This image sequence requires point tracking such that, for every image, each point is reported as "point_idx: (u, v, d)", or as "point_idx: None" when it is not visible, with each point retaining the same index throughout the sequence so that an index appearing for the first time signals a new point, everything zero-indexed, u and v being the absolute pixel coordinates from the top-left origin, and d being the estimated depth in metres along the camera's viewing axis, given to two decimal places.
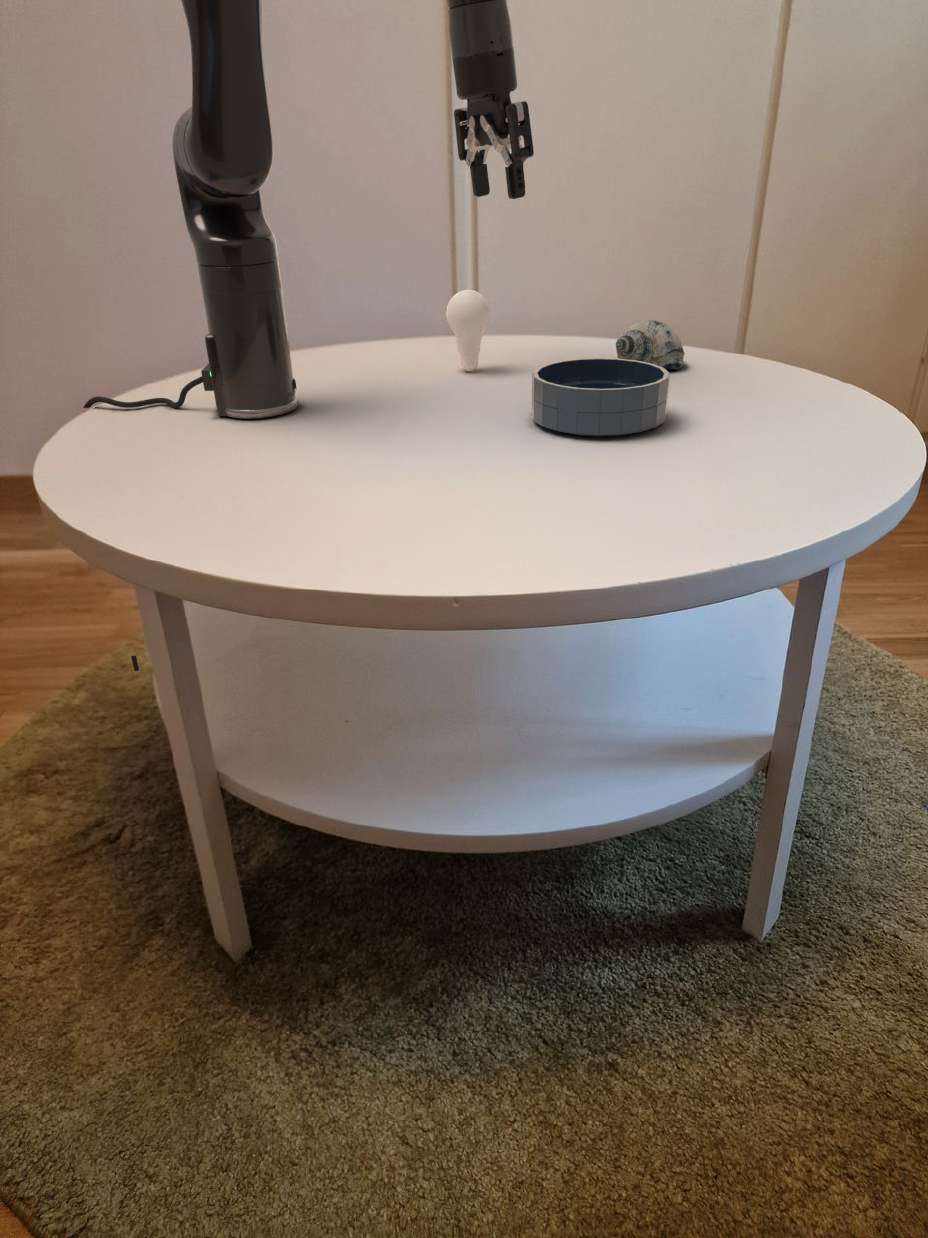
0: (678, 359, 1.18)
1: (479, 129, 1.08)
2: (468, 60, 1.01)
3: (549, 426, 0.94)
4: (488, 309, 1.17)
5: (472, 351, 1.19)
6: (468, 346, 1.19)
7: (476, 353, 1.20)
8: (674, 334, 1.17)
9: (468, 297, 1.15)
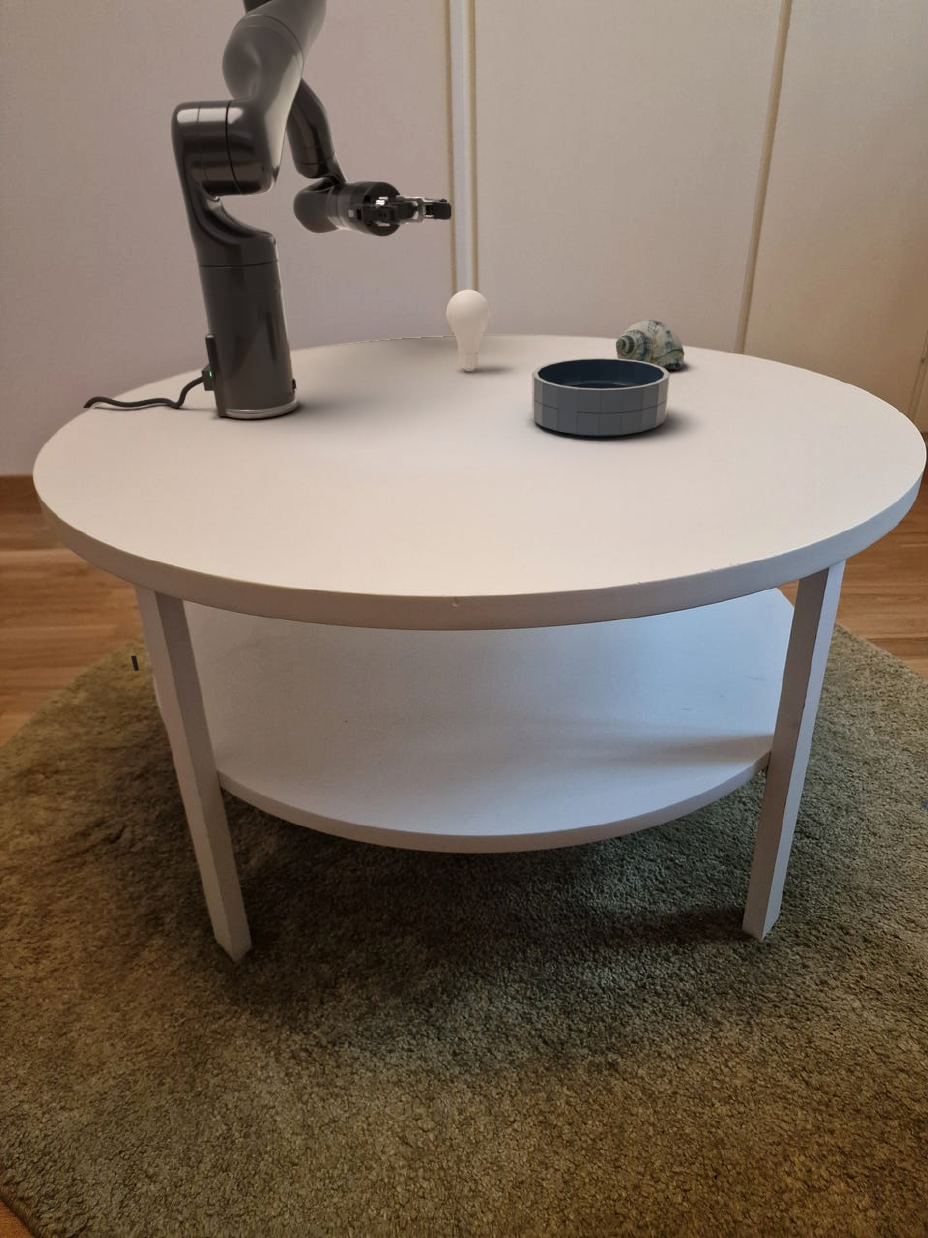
0: (678, 359, 1.18)
1: (389, 202, 1.25)
2: None
3: (549, 426, 0.94)
4: (488, 309, 1.17)
5: (472, 351, 1.19)
6: (468, 346, 1.19)
7: (476, 353, 1.20)
8: (674, 334, 1.17)
9: (468, 297, 1.15)
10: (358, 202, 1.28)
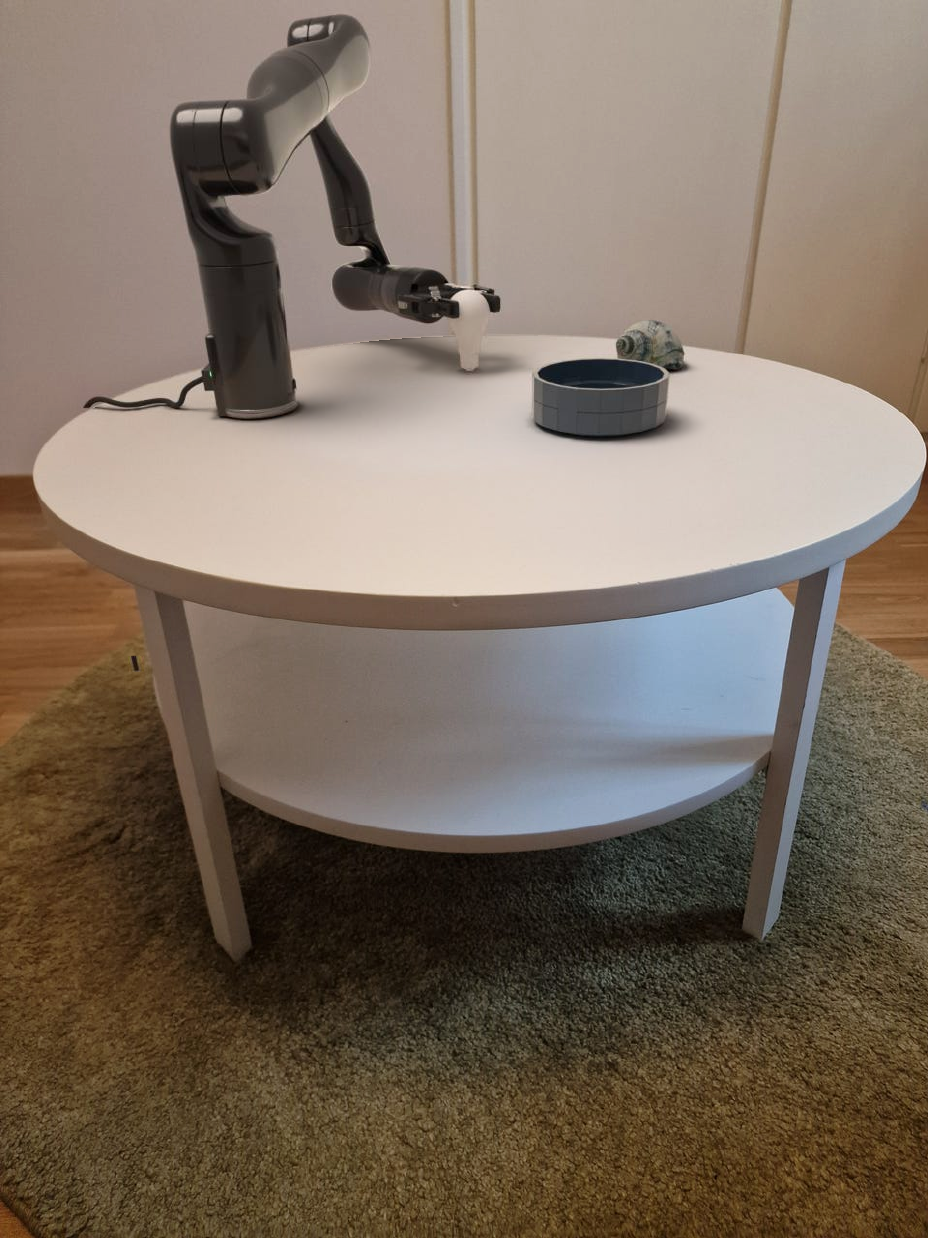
0: (678, 359, 1.18)
1: None
2: None
3: (549, 426, 0.94)
4: (488, 309, 1.17)
5: (472, 351, 1.19)
6: (468, 346, 1.19)
7: (476, 353, 1.20)
8: (674, 334, 1.17)
9: (468, 297, 1.15)
10: (405, 290, 1.24)
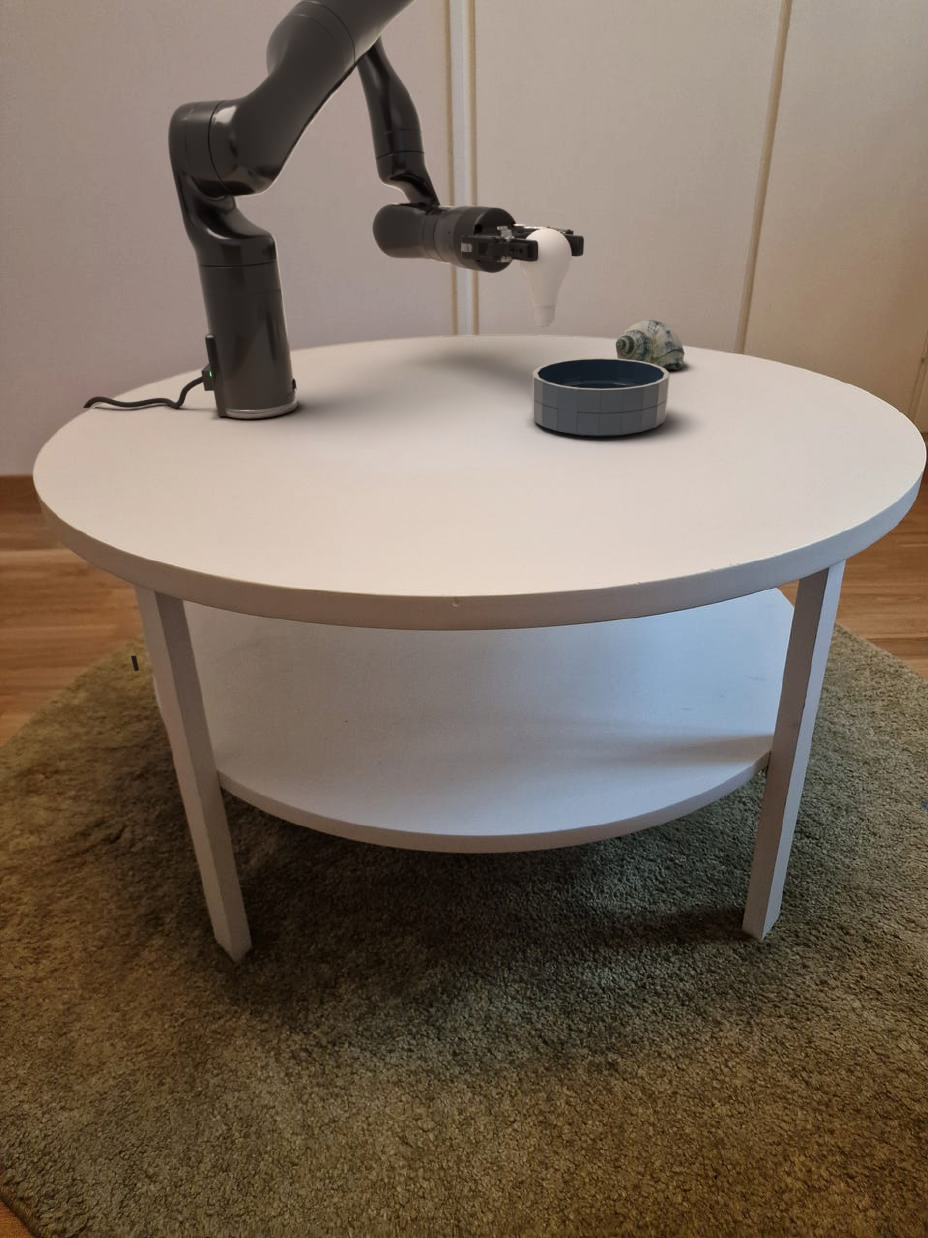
0: (678, 359, 1.18)
1: None
2: None
3: (549, 426, 0.94)
4: (570, 252, 0.99)
5: (549, 303, 1.01)
6: (545, 296, 1.00)
7: (553, 305, 1.01)
8: (674, 334, 1.17)
9: (548, 236, 0.97)
10: (467, 232, 1.05)
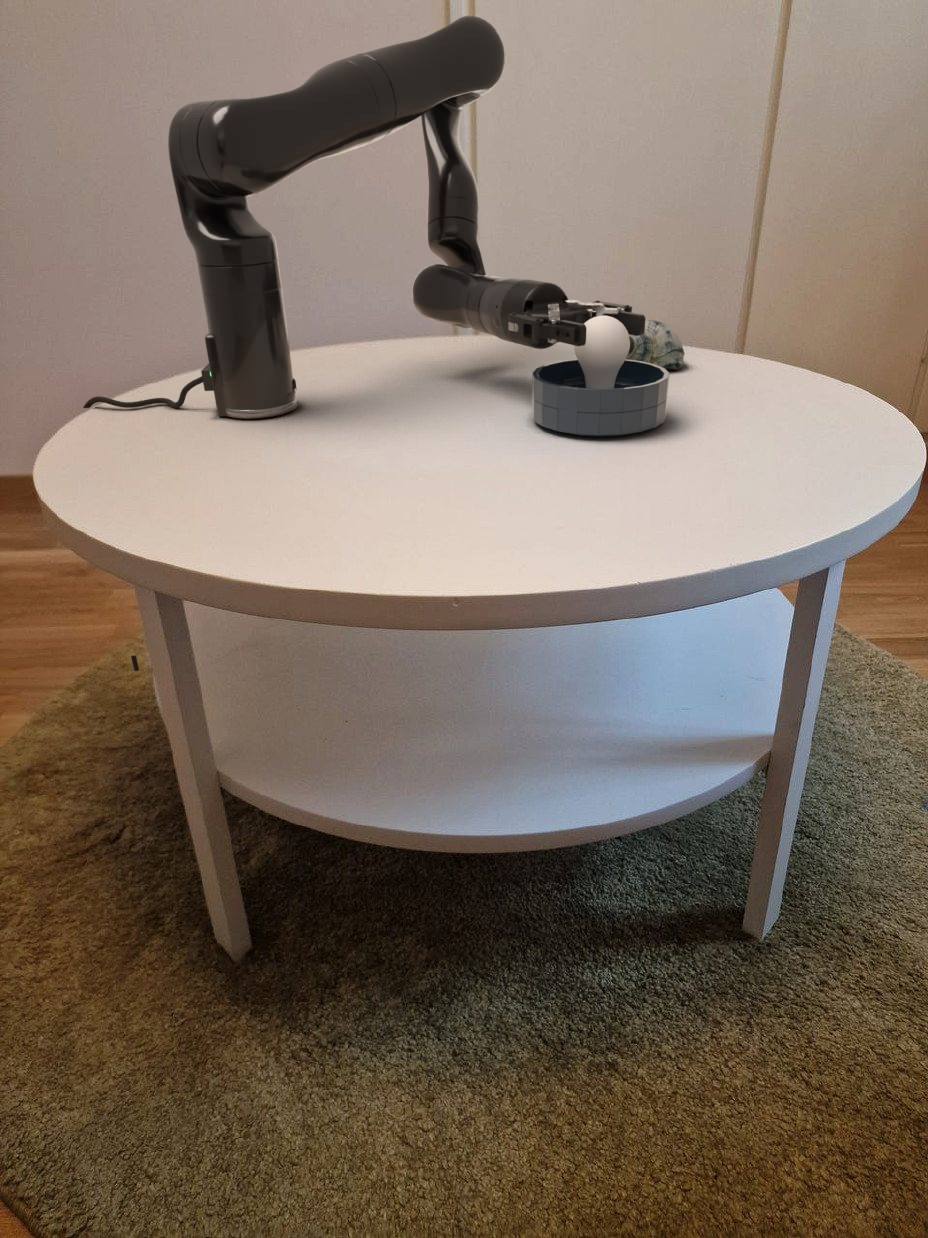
0: (678, 359, 1.18)
1: (560, 312, 0.97)
2: None
3: (549, 426, 0.94)
4: (629, 340, 0.94)
5: None
6: (601, 386, 0.95)
7: None
8: (674, 334, 1.17)
9: (606, 325, 0.92)
10: (516, 309, 0.99)
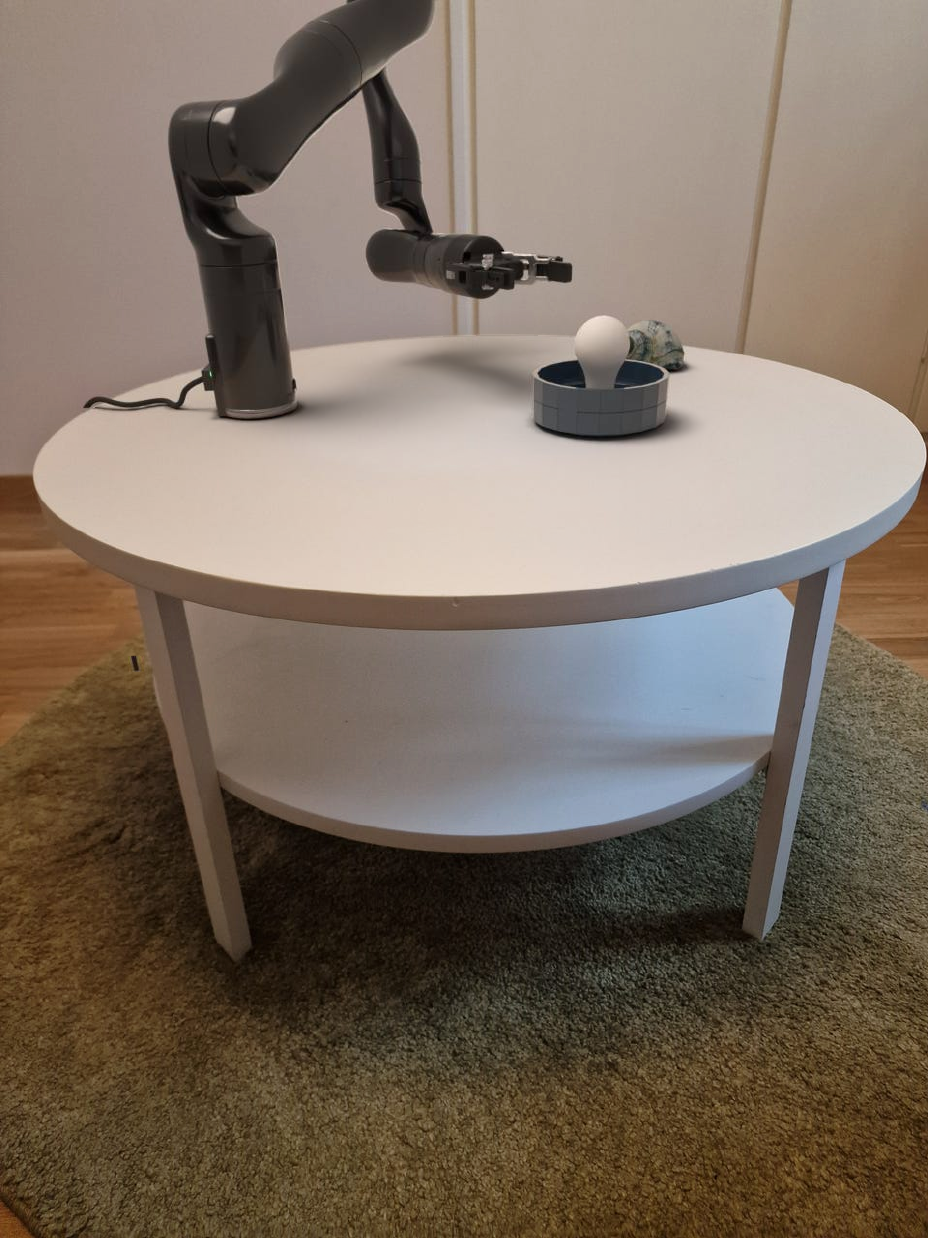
0: (678, 359, 1.18)
1: (494, 261, 1.04)
2: None
3: (549, 426, 0.94)
4: (629, 340, 0.94)
5: None
6: (601, 386, 0.95)
7: None
8: (674, 334, 1.17)
9: (606, 325, 0.92)
10: (455, 260, 1.07)
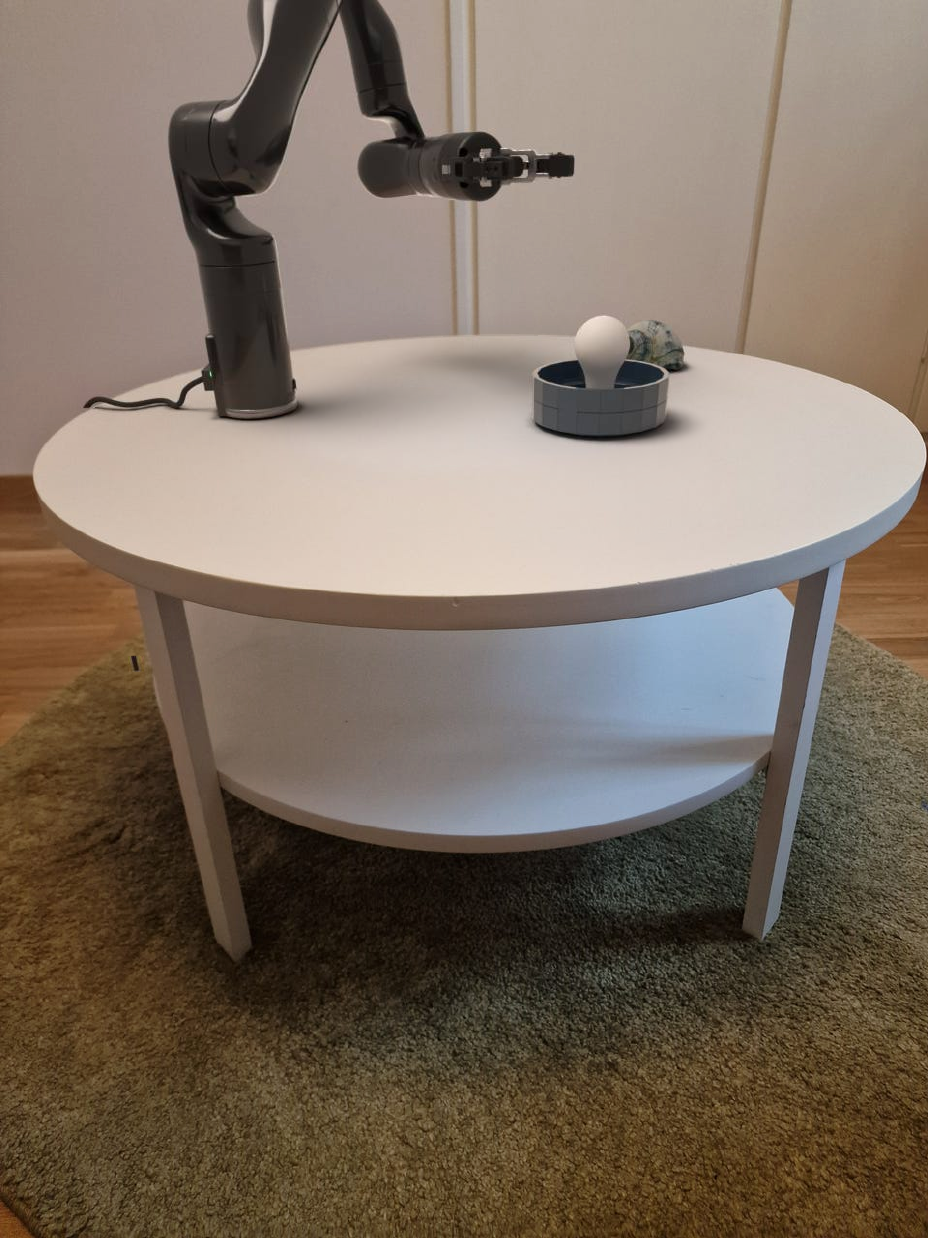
0: (678, 359, 1.18)
1: (492, 156, 0.99)
2: None
3: (549, 426, 0.94)
4: (629, 340, 0.94)
5: None
6: (601, 386, 0.95)
7: None
8: (674, 334, 1.17)
9: (606, 325, 0.92)
10: (451, 157, 1.01)
